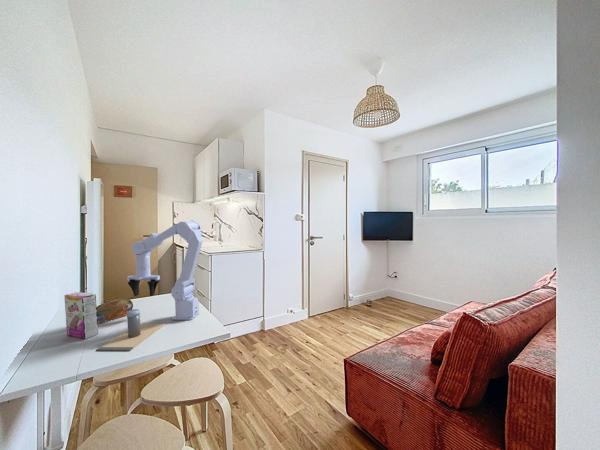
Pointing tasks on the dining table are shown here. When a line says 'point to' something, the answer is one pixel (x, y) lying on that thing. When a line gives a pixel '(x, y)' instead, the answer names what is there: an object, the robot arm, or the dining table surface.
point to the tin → (113, 310)
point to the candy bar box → (81, 315)
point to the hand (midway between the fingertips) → (144, 295)
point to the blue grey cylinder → (133, 323)
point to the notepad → (130, 339)
